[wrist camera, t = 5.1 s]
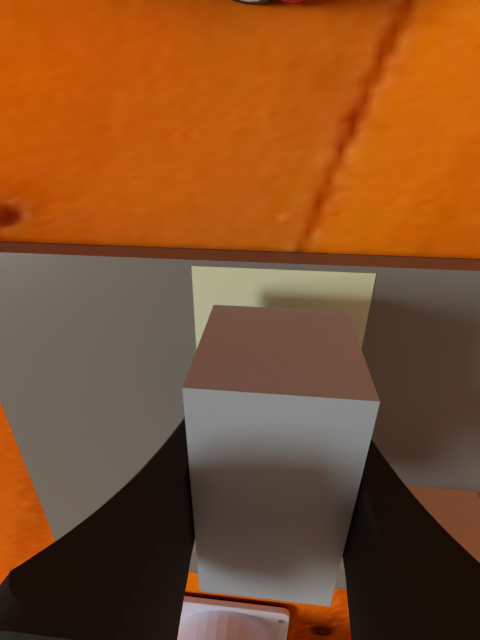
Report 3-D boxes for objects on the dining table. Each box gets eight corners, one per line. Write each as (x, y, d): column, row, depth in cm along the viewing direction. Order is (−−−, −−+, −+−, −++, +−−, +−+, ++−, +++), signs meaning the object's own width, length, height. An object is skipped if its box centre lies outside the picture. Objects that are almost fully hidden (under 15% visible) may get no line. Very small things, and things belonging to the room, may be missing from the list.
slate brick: (317, 489, 14) (330, 606, 11) (218, 480, 15) (199, 591, 11) (347, 311, 11) (380, 401, 7) (213, 304, 11) (182, 387, 8)
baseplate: (453, 578, 21) (463, 603, 20) (72, 537, 23) (61, 558, 22) (618, 264, 12) (652, 278, 11) (-34, 240, 14) (-61, 250, 13)
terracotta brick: (429, 589, 19) (462, 690, 16) (353, 580, 20) (369, 678, 16) (476, 491, 16) (532, 596, 12) (381, 483, 16) (409, 583, 13)
